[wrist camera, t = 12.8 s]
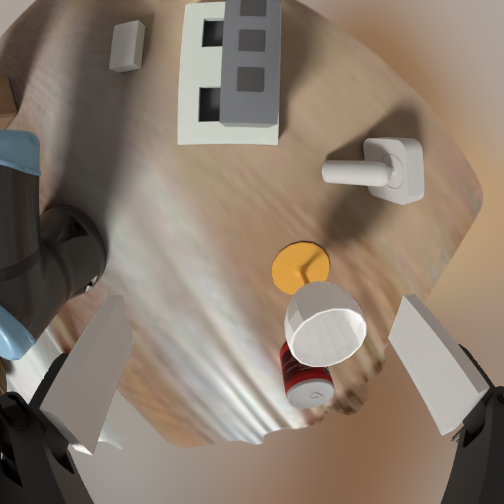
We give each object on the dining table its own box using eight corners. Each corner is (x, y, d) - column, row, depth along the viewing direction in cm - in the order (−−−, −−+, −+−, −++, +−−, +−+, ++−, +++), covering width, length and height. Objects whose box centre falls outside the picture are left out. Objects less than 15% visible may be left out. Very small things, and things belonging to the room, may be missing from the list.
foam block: (117, 72, 28) (108, 68, 25) (122, 31, 25) (114, 25, 22) (141, 68, 28) (133, 63, 25) (145, 26, 25) (138, 19, 23)
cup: (331, 239, 39) (377, 299, 25) (327, 291, 43) (362, 362, 28) (270, 243, 39) (287, 310, 24) (272, 297, 43) (286, 374, 28)
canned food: (310, 366, 50) (322, 409, 40) (273, 361, 49) (279, 407, 39) (327, 338, 47) (344, 383, 37) (287, 331, 46) (297, 379, 36)
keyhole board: (182, 144, 33) (177, 144, 30) (189, 12, 25) (185, 4, 22) (274, 144, 34) (277, 145, 31) (278, 12, 26) (281, 3, 23)
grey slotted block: (226, 127, 32) (219, 122, 21) (230, 19, 25) (227, -24, 15) (266, 128, 32) (278, 124, 21) (269, 20, 26) (280, -22, 15)
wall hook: (312, 143, 33) (359, 144, 24) (371, 136, 35) (421, 139, 26) (321, 201, 36) (366, 219, 27) (376, 188, 38) (424, 202, 29)
